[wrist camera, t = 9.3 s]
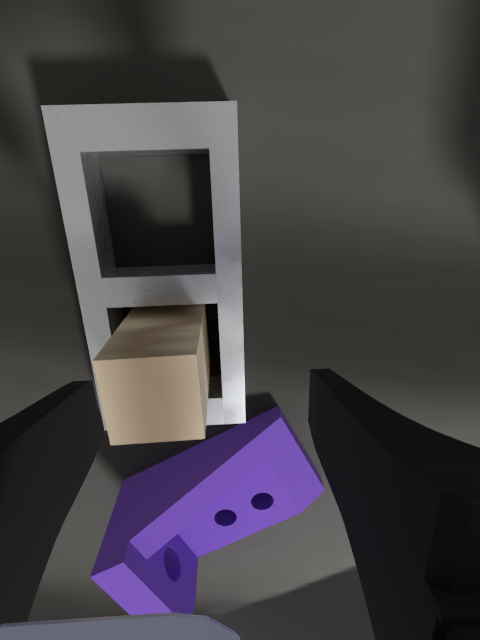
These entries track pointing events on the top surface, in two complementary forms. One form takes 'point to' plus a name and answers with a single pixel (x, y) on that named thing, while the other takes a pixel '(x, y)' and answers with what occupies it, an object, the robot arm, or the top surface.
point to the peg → (156, 375)
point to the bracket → (200, 511)
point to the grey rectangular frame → (152, 281)
